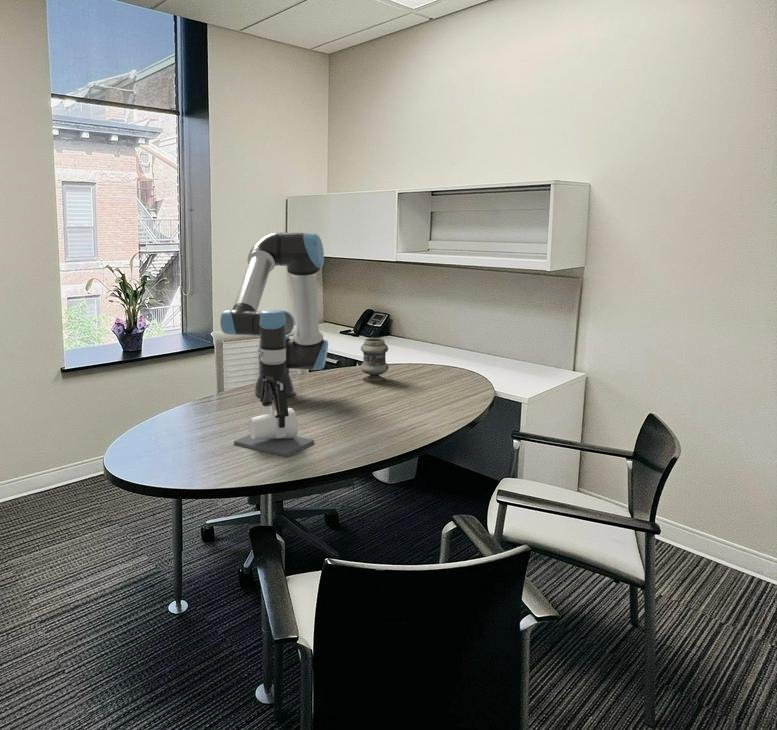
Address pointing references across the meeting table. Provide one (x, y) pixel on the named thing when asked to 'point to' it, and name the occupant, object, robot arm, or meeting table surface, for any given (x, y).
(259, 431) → the foam cup
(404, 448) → the meeting table surface
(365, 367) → the apothecary jar
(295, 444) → the rubber mat
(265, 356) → the robot arm
